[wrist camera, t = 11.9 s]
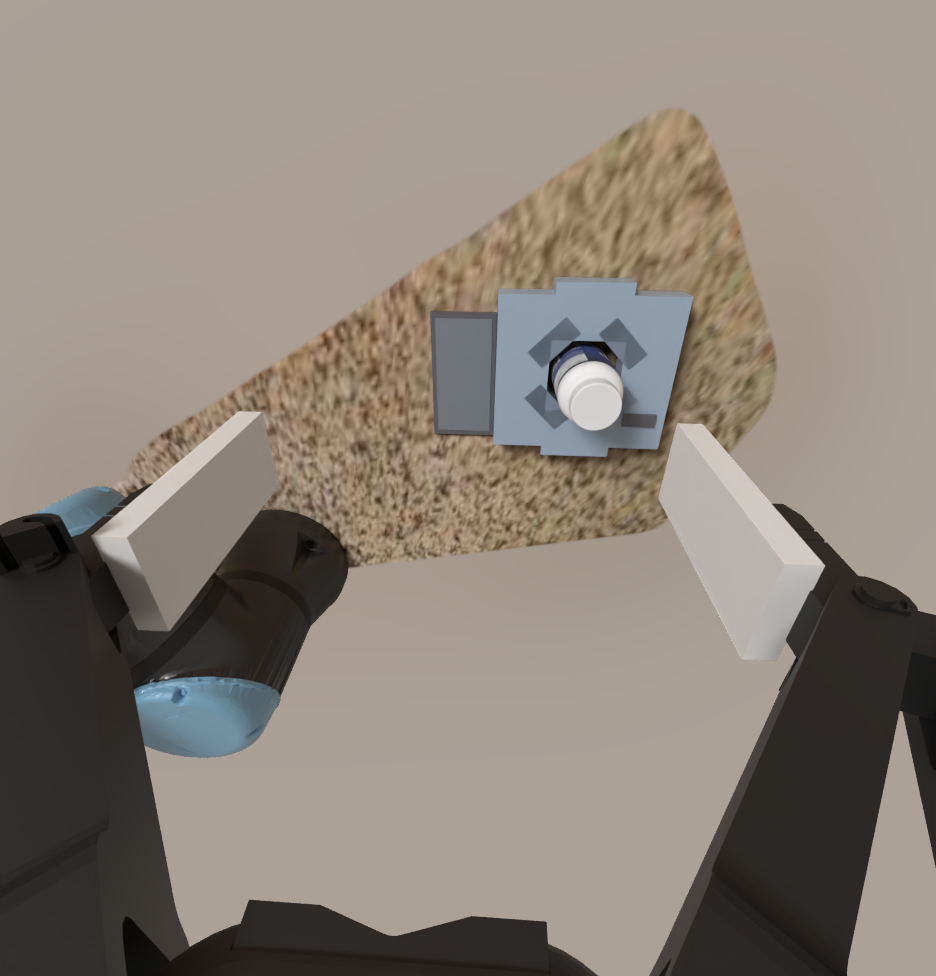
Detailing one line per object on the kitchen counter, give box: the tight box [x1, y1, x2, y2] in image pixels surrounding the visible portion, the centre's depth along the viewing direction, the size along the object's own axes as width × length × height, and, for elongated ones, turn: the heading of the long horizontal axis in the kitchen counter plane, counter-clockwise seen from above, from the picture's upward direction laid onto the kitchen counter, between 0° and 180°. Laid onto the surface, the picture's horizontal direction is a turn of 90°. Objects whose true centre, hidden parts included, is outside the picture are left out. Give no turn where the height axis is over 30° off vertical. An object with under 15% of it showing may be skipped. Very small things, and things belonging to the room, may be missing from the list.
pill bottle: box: [551, 342, 624, 431], centre depth 42 cm, size 5×5×10 cm
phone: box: [430, 311, 497, 435], centre depth 47 cm, size 12×6×1 cm, turn 0°
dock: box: [493, 277, 693, 457], centre depth 45 cm, size 16×16×3 cm
